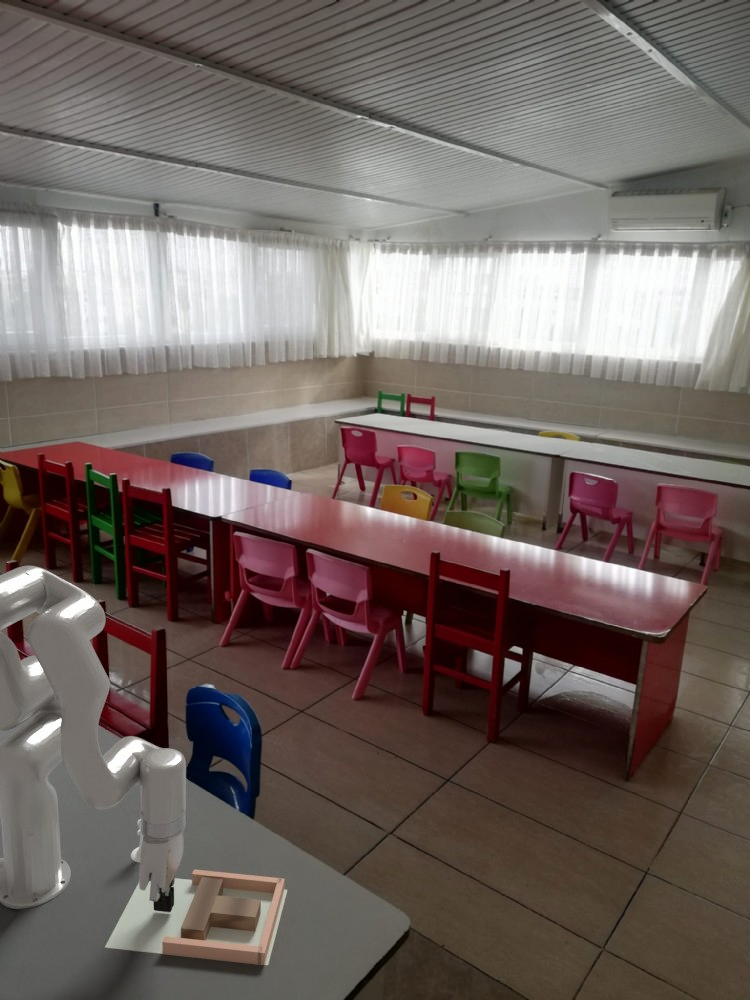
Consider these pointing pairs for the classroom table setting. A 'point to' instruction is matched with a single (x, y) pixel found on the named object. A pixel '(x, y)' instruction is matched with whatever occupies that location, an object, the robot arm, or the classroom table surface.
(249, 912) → the t block
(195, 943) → the pocket
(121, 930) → the mat
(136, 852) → the chess piece
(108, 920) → the classroom table surface
